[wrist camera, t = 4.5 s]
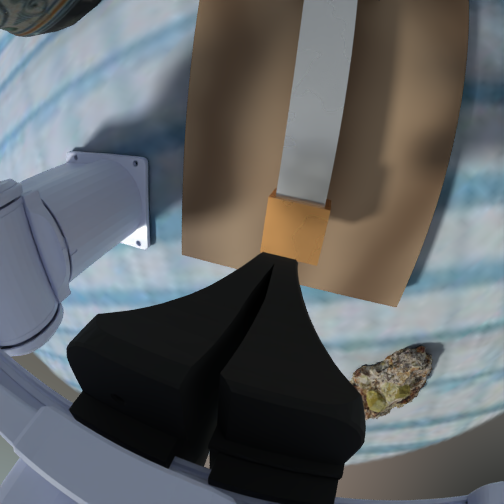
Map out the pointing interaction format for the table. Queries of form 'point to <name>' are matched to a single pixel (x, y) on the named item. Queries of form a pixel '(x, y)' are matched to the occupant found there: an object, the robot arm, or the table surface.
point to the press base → (349, 142)
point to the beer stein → (41, 15)
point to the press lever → (311, 132)
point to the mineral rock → (392, 381)
